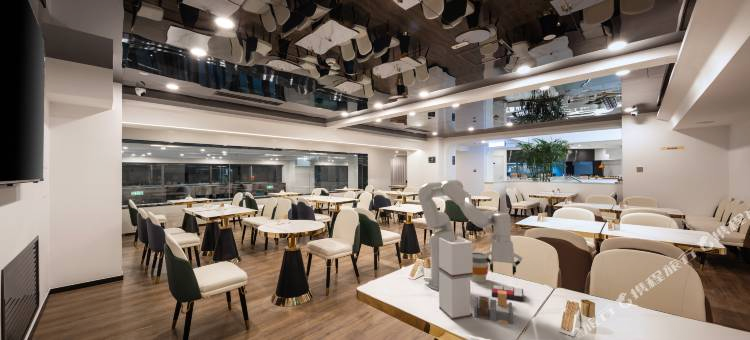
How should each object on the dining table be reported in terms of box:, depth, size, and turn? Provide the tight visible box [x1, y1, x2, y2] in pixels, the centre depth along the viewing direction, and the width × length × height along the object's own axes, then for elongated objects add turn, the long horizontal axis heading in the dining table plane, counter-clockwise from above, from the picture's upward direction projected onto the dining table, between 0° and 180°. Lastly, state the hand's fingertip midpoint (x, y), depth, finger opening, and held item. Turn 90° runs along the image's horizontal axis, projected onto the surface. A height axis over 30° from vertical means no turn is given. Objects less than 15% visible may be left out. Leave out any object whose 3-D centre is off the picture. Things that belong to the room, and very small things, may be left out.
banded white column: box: [438, 235, 474, 321], centre depth 138 cm, size 11×11×35 cm
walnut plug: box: [478, 295, 490, 316], centre depth 137 cm, size 4×4×7 cm
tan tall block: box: [497, 290, 508, 308], centre depth 146 cm, size 4×4×7 cm
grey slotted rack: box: [473, 296, 514, 325], centre depth 135 cm, size 16×10×6 cm, turn 68°
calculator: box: [491, 284, 525, 303], centre depth 156 cm, size 11×4×15 cm
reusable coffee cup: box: [470, 252, 489, 284], centre depth 179 cm, size 13×13×15 cm
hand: (502, 272), depth 145 cm, fingers open, 9 cm apart
